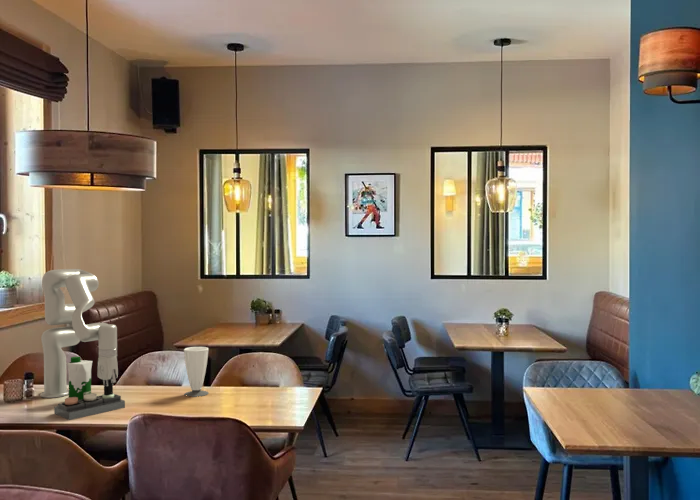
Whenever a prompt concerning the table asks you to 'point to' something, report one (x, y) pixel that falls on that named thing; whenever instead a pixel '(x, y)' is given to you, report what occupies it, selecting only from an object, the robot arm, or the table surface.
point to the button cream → (90, 397)
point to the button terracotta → (71, 400)
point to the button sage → (107, 396)
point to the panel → (89, 407)
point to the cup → (196, 369)
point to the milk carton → (79, 377)
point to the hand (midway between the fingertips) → (108, 394)
